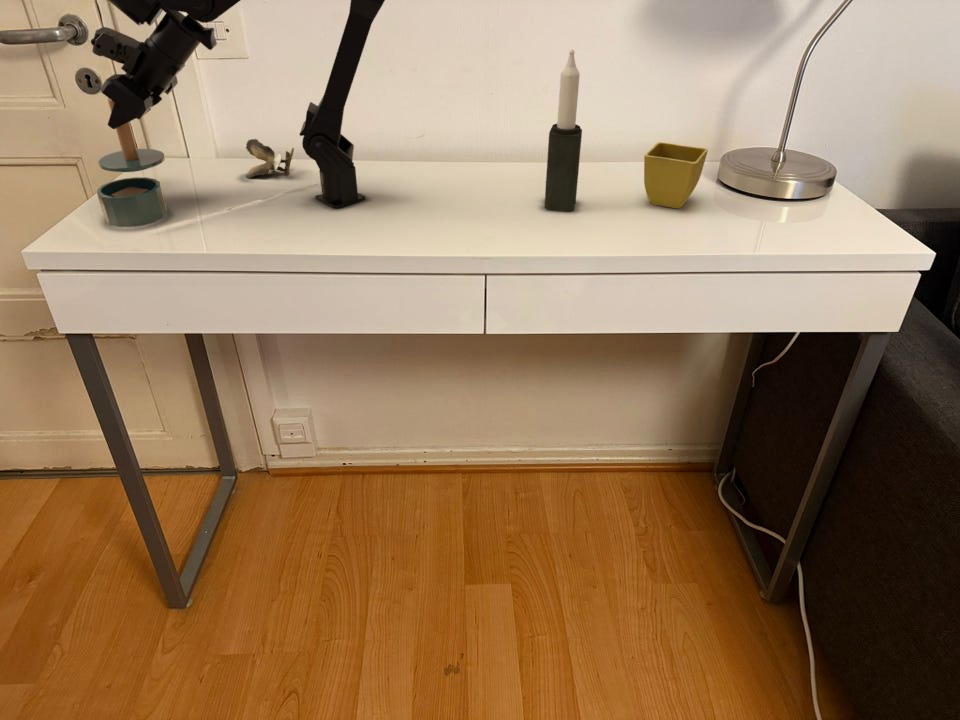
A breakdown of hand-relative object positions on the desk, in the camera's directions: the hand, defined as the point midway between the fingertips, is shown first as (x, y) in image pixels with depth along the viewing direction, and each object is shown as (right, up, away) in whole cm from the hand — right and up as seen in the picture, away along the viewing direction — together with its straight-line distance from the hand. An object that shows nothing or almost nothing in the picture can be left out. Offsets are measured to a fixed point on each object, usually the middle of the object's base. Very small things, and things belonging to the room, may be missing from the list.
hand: (113, 124), depth 110 cm
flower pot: (+91, -10, +11) cm, 92 cm away
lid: (+1, -5, +4) cm, 6 cm away
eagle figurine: (+19, -3, +20) cm, 28 cm away
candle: (+72, -11, +10) cm, 74 cm away
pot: (+2, -14, +3) cm, 15 cm away
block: (+2, -14, +3) cm, 14 cm away
